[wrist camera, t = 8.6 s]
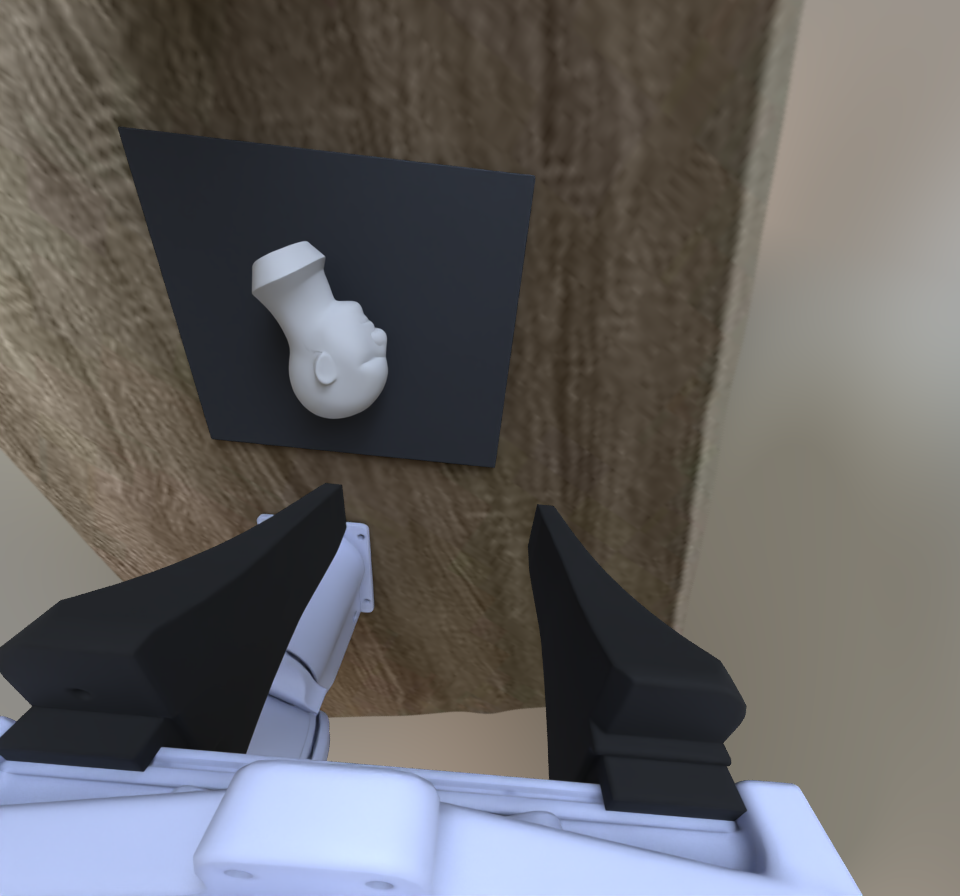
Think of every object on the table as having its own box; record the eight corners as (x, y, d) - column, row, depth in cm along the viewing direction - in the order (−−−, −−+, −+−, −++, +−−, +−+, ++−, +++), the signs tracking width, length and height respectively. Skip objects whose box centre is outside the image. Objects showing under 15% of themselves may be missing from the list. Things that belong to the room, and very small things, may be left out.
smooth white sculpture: (401, 390, 21) (314, 410, 20) (360, 238, 17) (250, 254, 16) (408, 415, 17) (302, 441, 16) (357, 227, 13) (214, 248, 12)
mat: (494, 463, 22) (494, 468, 22) (217, 435, 22) (211, 439, 22) (534, 178, 15) (535, 175, 15) (129, 130, 15) (116, 125, 15)
